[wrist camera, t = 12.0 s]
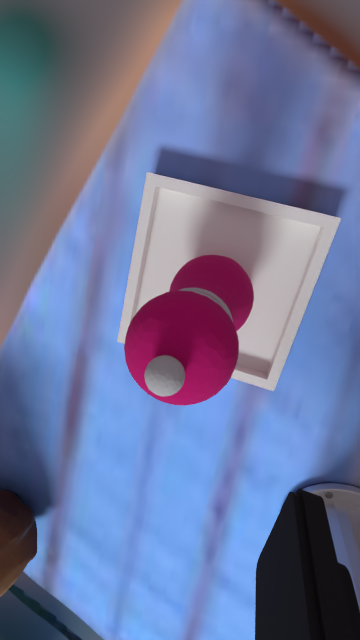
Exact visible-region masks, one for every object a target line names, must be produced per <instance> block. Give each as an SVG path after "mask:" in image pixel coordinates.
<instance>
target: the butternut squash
mask: <svg viewBox="0 0 360 640" xmlns="http://www.w3.org/2000/svg"><path fill="white" fill-rule="evenodd" d="M36 553H37V527H36V521H35V518H34V515H33V512H32V510H31V509H30V508H29V507H28V506H27V505H26V504H25V503H23V502H22V501H21V500H20V499H19V497H18V496H17V494H15V493H12V492H10V491H7V490H0V597H1V596H2V595H3V594H4V593H5V592H6V591H7V590H8V589H9V588H10V587H11V586H12V584H13V583H14V582H15V581H16V580H17V579H18V577H19V576H20V574H21V573H22V572H23V570H24V568H25V567H26V565H27V564H28V562H29V561H30V560H32V559H33V558H34V557H35V555H36Z"/></svg>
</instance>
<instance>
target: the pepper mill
mask: <svg viewBox="0 0 360 640" xmlns="http://www.w3.org/2000/svg"><path fill="white" fill-rule="evenodd" d="M253 301H254V291H253V286H252V283H251V280H250V278H249V276H248V275H247V273H246V272H245V270H244V269H243V268H242V267H241V266H240V265H239V264H238V263H237V262H236V261H234V260H233V259H231V258H228V257H225V256H220V255H203V256H200V257H196V258H194V259H192V260H190V261H188V262H187V263H186V264H185V265H184V266H182V267H181V269H180V270H179V271H178V272H177V274H176V275H175V277H174V279H173V281H172V283H171V286H170V290H169V292H166V293H164V294H161V295H159V296H157V297H155V298H153V299H151V300H149V301H148V302H147V303H146V304H144V305H143V306H142V307H141V308H140V309H139V311H138V312H137V313H136V314H135V316H134V317H133V318H132V321H131V323H130V325H129V327H128V330H127V333H126V337H125V346H124V349H125V358H126V363H127V366H128V369H129V372H130V373H131V375H132V377H133V378H134V380H135V381H136V382H137V383H138V385H139V386H140V387H141V388H142V389H143V390H144V391H145V392H147V393H148V394H149V395H151V396H152V397H154V398H156V399H158V400H160V401H163V402H165V403H169V404H174V405H191V404H196V403H199V402H202V401H205V400H207V399H209V398H211V397H212V396H214V395H216V394H217V393H218V392H219V391H220V390H221V389H222V388H223V387H224V386H225V385H226V384H227V383H228V381H229V380H230V378H231V376H232V374H233V372H234V370H235V367H236V364H237V360H238V355H239V341H238V335H237V332H236V331H238V330H239V329H240V328H241V327H242V326H243V325H244V323H245V322H246V320H247V319H248V317H249V315H250V312H251V310H252V307H253Z"/></svg>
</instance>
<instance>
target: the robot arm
mask: <svg viewBox="0 0 360 640" xmlns="http://www.w3.org/2000/svg"><path fill="white" fill-rule="evenodd" d="M255 640H360V489H359V488H356V487H354V486H349V485H344V484H335V483H325V484H317V485H313V486H309V487H306V488H304V489H299V490H297V492H296V493H293V492H290V493H289V494H288V496H287V498H286V501H285V503H284V505H283V507H282V509H281V511H280V513H279V516H278V518H277V520H276V522H275V524H274V526H273V529H272V531H271V533H270V535H269V537H268V539H267V541H266V544H265V546H264V548H263V550H262V552H261V554H260V557H259V559H258V563H257V569H256V617H255Z"/></svg>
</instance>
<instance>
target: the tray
mask: <svg viewBox="0 0 360 640" xmlns="http://www.w3.org/2000/svg"><path fill="white" fill-rule="evenodd" d="M340 220H341V218H338V217H334V216H330V215H326V214H322V213H317V212H313V211H309V210H305V209H301V208H296V207H292V206H288V205H284V204H280V203H275V202H271V201H267V200H263V199H258V198H254V197H250V196H246V195H242V194H237V193H233V192H229V191H225V190H221V189H216V188H212V187H208V186H204V185H200V184H195V183H191V182H187V181H183V180H179V179H174V178H170V177H166V176H162V175H158V174H153V173H149V172H147V175H146V181H145V186H144V192H143V198H142V203H141V209H140V215H139V220H138V226H137V232H136V238H135V243H134V249H133V255H132V260H131V266H130V272H129V278H128V283H127V289H126V295H125V300H124V306H123V312H122V318H121V323H120V329H119V335H118V340H117V341H118V342H121V343H124V344H125V337H126V333H127V330H128V327H129V325H130V323H131V321H132V318H133V317H134V316H135V314H136V313H137V312H138V311H139V309H140V308H141V307H142V306H143V305H144V304H146V303H147V302H148V301H149V300H151V299H153V298H155V297H157V296H159V295H161V294H164V293H166V292H169V290H170V286H171V283H172V281H173V279H174V277H175V275H176V274H177V272H178V271H179V270H180V269H181V267H182V266H184V265H185V264H186V263H187V262H188V261H190V260H192V259H194V258H196V257H200V256H203V255H220V256H225V257H228V258H231V259H233V260H234V261H236V262H237V263H238V264H239V265H240V266H241V267H242V268H243V269H244V270H245V272H246V273H247V275H248V276H249V278H250V280H251V283H252V286H253V291H254V301H253V307H252V310H251V312H250V315H249V317H248V319H247V320H246V322H245V323H244V325H243V326H242V327H241V328H240V329H239V330H238V331H236V332H237V335H238V341H239V355H238V360H237V364H236V367H235V370H234V372H233V374H232V376H231V378H234V379H237V380H240V381H243V382H246V383H249V384H252V385H256V386H259V387H262V388H265V389H268V390H271V391H274V389H275V387H276V384H277V382H278V379H279V377H280V374H281V372H282V369H283V366H284V364H285V361H286V359H287V356H288V354H289V351H290V348H291V346H292V343H293V341H294V338H295V336H296V333H297V331H298V328H299V325H300V323H301V320H302V318H303V315H304V313H305V310H306V307H307V305H308V302H309V300H310V297H311V295H312V292H313V290H314V287H315V284H316V282H317V279H318V277H319V274H320V272H321V269H322V266H323V264H324V261H325V259H326V256H327V254H328V251H329V248H330V246H331V243H332V241H333V238H334V236H335V233H336V231H337V228H338V225H339V223H340Z"/></svg>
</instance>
